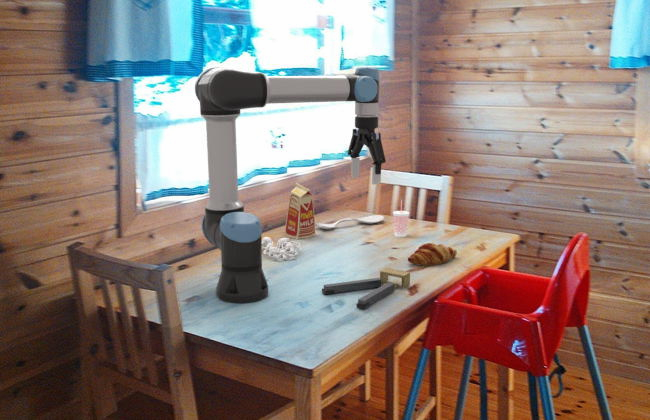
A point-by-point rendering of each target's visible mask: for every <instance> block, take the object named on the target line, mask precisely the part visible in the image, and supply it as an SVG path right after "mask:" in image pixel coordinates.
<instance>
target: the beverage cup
mask: <svg viewBox="0 0 650 420" xmlns="http://www.w3.org/2000/svg"><path fill="white" fill-rule="evenodd" d="M392 214H393V224H394V225H393V228H394V230H393V232H394V233H393V234H394V236H395V237H398V238H405V237H407V236H408V235H407V234H408V223H409V215H410V212H409V211H406V210H403V199H400V210H395V211H393V212H392Z"/></svg>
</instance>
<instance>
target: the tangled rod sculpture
mask: <svg viewBox="0 0 650 420" xmlns="http://www.w3.org/2000/svg"><path fill="white" fill-rule="evenodd" d="M274 242H275V241H273V240H272V238H271V237H269V236H264V237H263V238H262V251H263V252H262V253H263V255H265V256H266V255H267V256H268V257H269V258H273V260H282V261H285V262H286V261H288V260H290V261H292V260H294V258H295V257H296V256H297V255H298V253H300V252H301V251H302V248H301V244H300V243H299V242H297V241H294V240H293V241H291V240H290V237H289V238H288V237H281V238H278V240H277V242H276V246H275V245H274ZM296 249H299V250H296Z"/></svg>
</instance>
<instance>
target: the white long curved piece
mask: <svg viewBox="0 0 650 420" xmlns="http://www.w3.org/2000/svg"><path fill="white" fill-rule="evenodd" d="M384 219H385V216H383V215H381V214H374V215H369V216H363V217H358V218H357V217H345V218H342V219H339V220H337V221H335V222H333V223H330V224H328V223H319V222H316V221H315V227H317V228H320V229H323V230H332V229H334V228H335V227H336V226H338V225H339V224H341V223H344V222H352V221H355V222H359V223H364V224H368V225H369V224H370V225H372V224H377V223H380V222H381V221H384Z"/></svg>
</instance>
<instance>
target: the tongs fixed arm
mask: <svg viewBox="0 0 650 420" xmlns="http://www.w3.org/2000/svg"><path fill="white" fill-rule="evenodd" d="M397 287H398V284H397V283H396V282H393V281H386V282H384V283H383V285H382V286H381V287H377V288H375V289H374V290H373V291H370V292H369V293H367V294H365V295H364V296H362V297H360V298H358V299H357V303H356V308H358V309H363V310H365V309H366V308H369V307H370V306H371V305H372V304H374V303H376V302H377V301H379V300H381V299H383V298H384V297H386V296H387V295H389V294H391V293H393V292H395V290H396V289H397Z"/></svg>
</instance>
